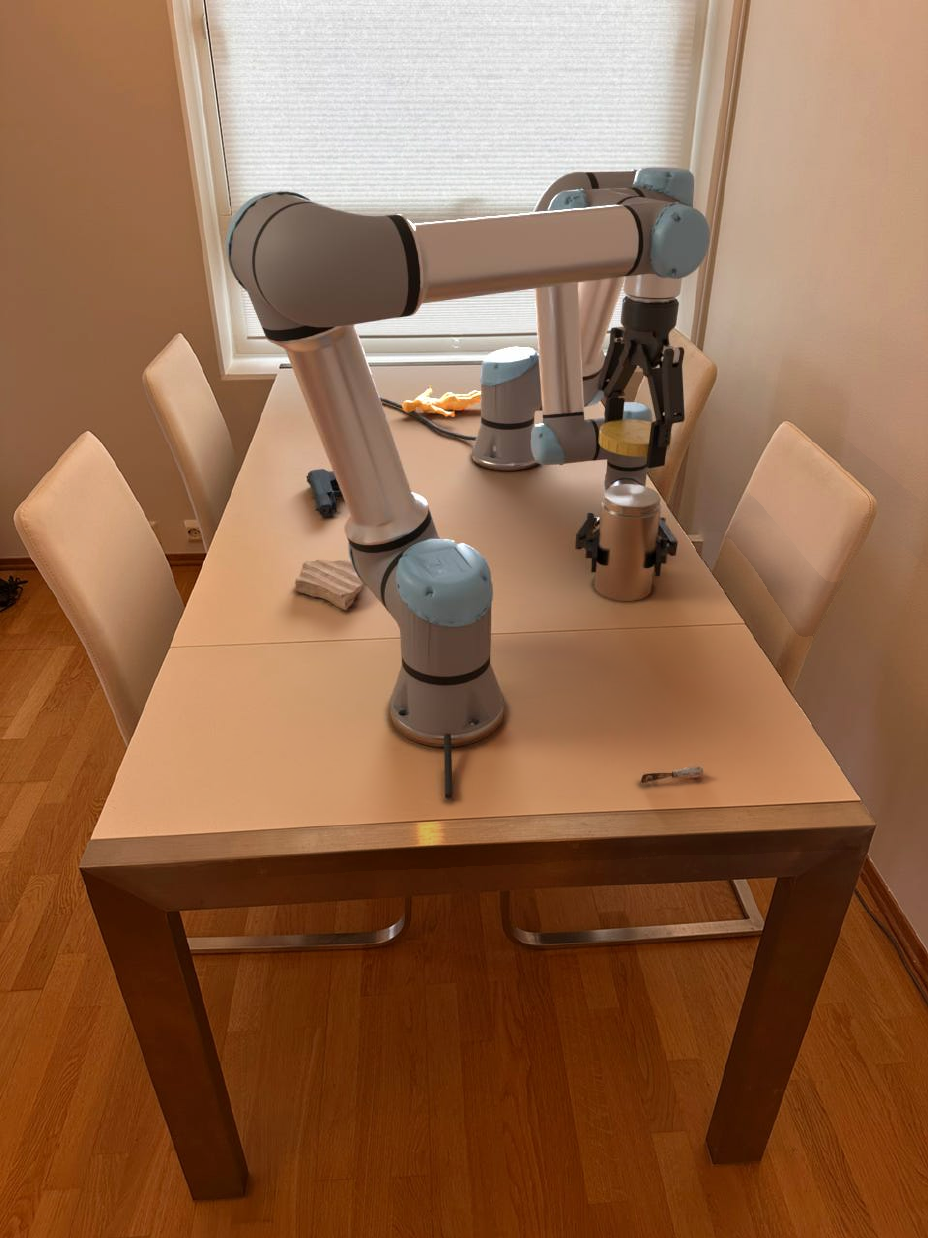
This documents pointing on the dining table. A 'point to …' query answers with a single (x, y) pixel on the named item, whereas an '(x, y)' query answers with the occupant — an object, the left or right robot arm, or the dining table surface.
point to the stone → (330, 581)
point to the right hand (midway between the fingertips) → (626, 566)
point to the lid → (626, 437)
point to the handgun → (324, 491)
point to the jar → (627, 542)
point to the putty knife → (674, 774)
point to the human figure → (442, 402)
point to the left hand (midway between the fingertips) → (632, 453)
